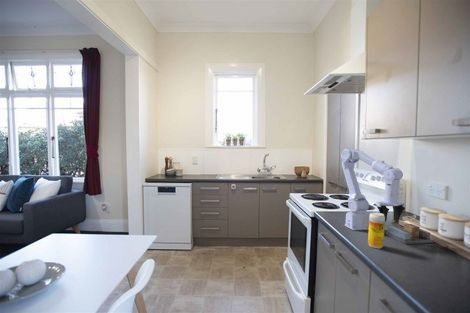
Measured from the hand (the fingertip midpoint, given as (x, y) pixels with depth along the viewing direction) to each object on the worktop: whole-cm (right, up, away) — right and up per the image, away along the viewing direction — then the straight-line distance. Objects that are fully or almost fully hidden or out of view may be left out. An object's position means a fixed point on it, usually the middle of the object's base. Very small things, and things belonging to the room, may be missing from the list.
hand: (390, 220), depth 119 cm
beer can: (-11, -10, -7) cm, 17 cm away
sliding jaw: (+5, -8, +1) cm, 9 cm away
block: (+12, -8, +3) cm, 15 cm away
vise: (+11, -10, +3) cm, 15 cm away
